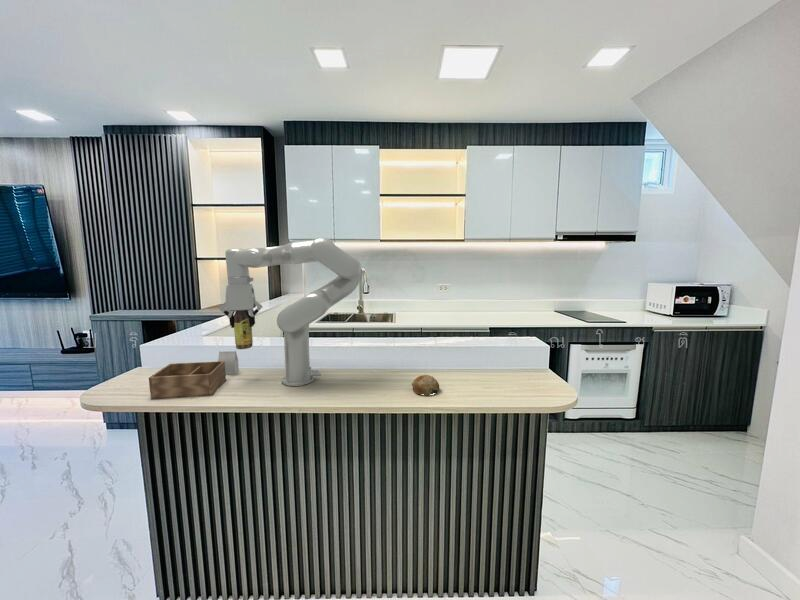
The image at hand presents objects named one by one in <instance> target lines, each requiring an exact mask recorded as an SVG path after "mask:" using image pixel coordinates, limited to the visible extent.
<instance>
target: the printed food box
mask: <svg viewBox="0 0 800 600" xmlns="http://www.w3.org/2000/svg"><path fill="white" fill-rule="evenodd" d="M217 361H225V373H226V375H234V376H237V375H238V374H239V373H240V368H239V366H240V365H239V359H238V354H237V350H236V351H235V350H233V351H232V350H230V351H229V350H227V351H222V350H221V351H219V352H218V358H217ZM238 372H239V373H238ZM237 373H238V374H237ZM236 374H237V375H236Z"/></svg>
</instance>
